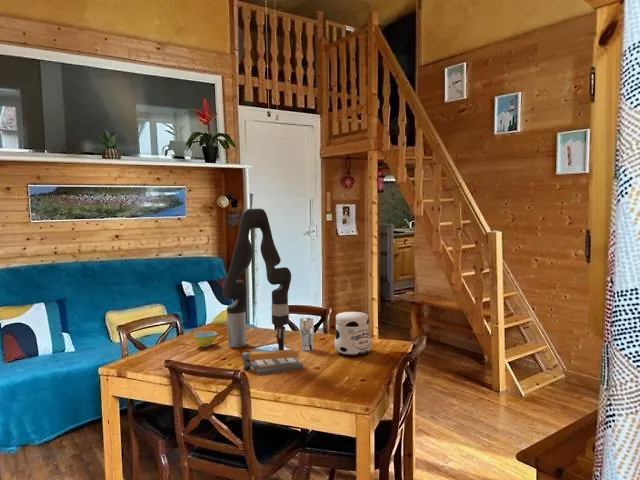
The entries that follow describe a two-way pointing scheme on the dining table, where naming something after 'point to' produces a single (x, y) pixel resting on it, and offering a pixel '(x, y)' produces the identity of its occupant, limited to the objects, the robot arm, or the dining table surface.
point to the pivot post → (247, 364)
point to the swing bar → (270, 354)
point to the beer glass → (307, 333)
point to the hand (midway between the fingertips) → (281, 351)
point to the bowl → (205, 338)
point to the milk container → (352, 333)
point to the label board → (276, 365)
